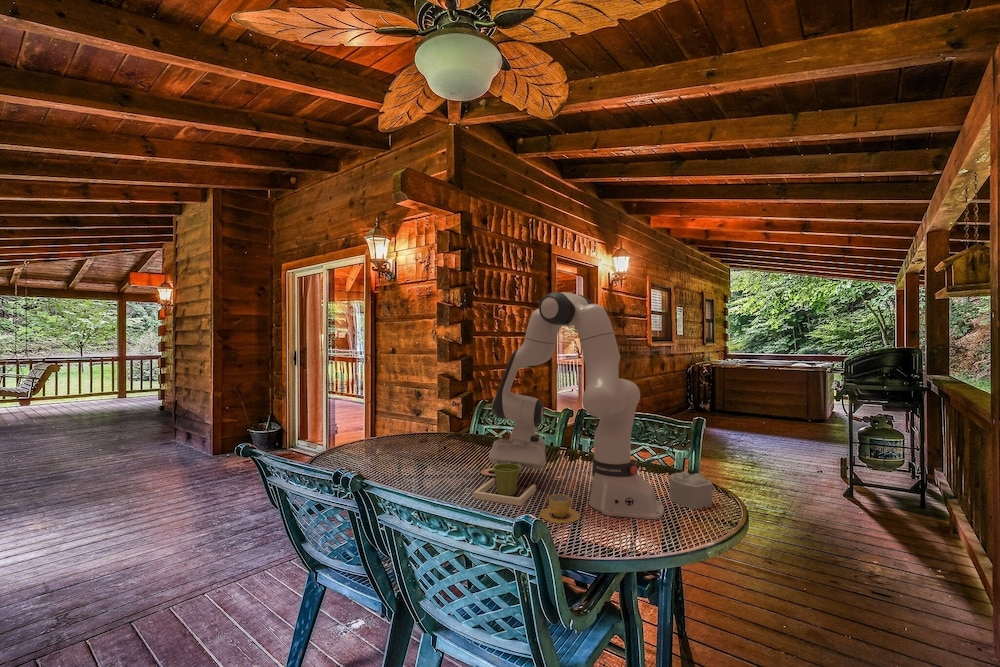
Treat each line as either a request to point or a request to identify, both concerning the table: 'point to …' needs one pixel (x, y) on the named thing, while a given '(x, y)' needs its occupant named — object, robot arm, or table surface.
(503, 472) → the plant pot
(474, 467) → the table surface
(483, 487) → the frame
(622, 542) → the table surface
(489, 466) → the table surface
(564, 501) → the cup
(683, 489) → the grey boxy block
